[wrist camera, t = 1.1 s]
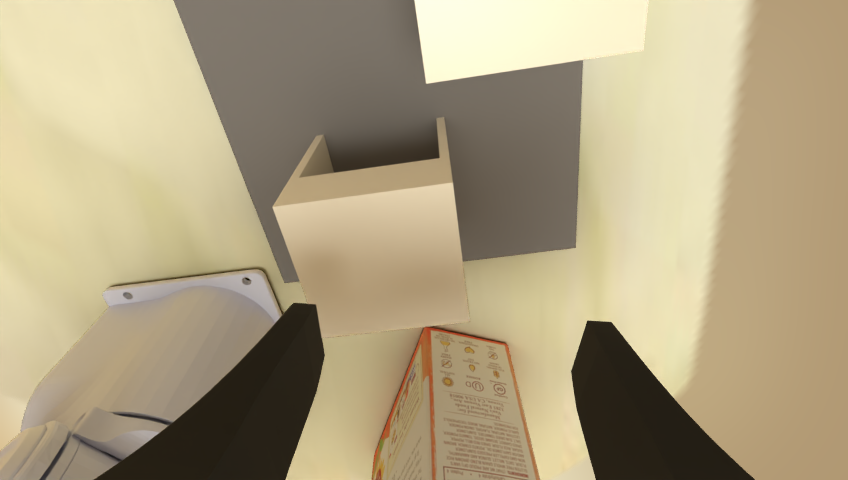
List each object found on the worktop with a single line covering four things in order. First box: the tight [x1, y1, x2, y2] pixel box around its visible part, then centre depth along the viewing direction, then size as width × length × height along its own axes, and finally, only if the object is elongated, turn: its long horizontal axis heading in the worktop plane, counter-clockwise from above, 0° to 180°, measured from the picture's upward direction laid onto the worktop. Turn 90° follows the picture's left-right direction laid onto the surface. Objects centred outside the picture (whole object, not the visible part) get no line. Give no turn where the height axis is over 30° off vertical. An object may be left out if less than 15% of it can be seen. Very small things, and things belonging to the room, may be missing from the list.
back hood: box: [272, 117, 470, 338], centre depth 19 cm, size 6×6×7 cm
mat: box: [174, 0, 583, 283], centre depth 19 cm, size 16×20×1 cm
